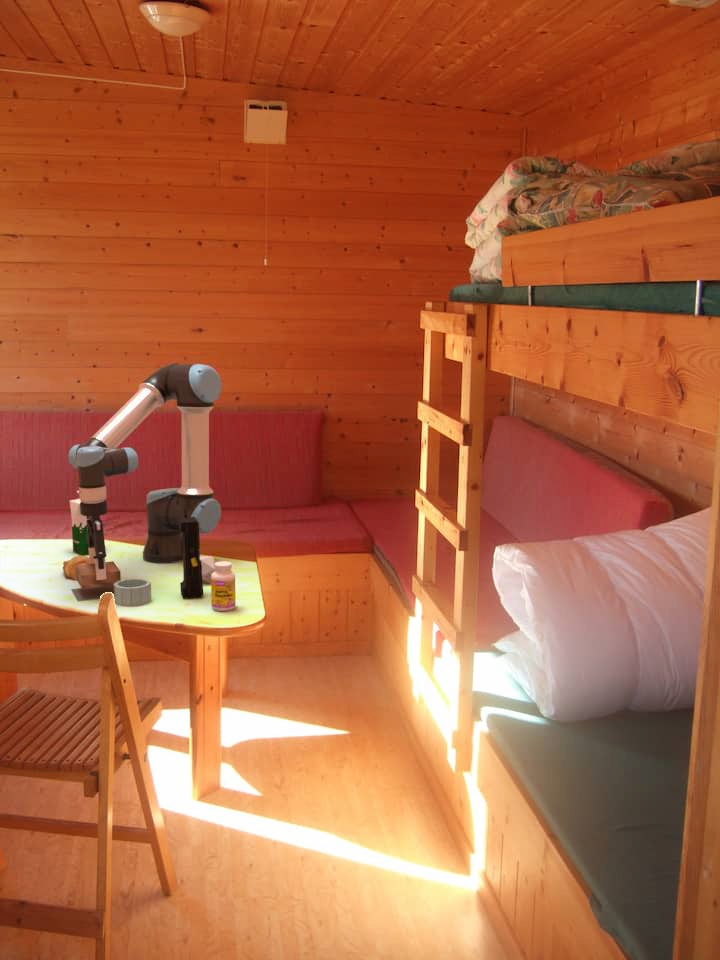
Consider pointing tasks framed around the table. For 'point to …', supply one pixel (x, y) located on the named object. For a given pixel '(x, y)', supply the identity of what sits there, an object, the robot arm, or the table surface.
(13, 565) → the table surface
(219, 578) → the supplement bottle
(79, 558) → the croissant
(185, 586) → the portable radio
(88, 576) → the cover
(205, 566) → the die
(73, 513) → the milk carton
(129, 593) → the bowl
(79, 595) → the mat
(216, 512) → the robot arm
